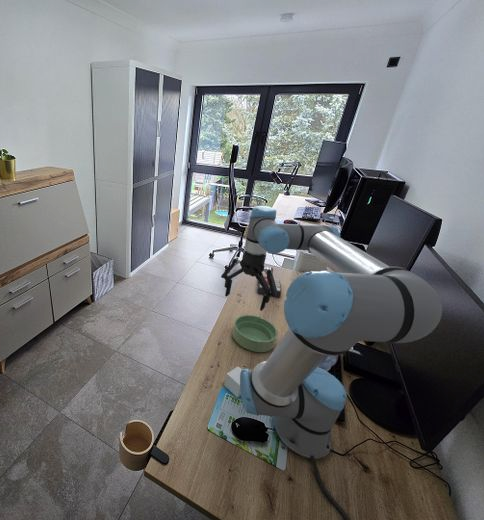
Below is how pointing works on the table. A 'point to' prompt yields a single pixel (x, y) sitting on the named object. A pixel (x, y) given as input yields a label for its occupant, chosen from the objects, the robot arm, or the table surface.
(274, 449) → the table surface
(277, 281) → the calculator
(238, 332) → the bowl
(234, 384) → the white cube
